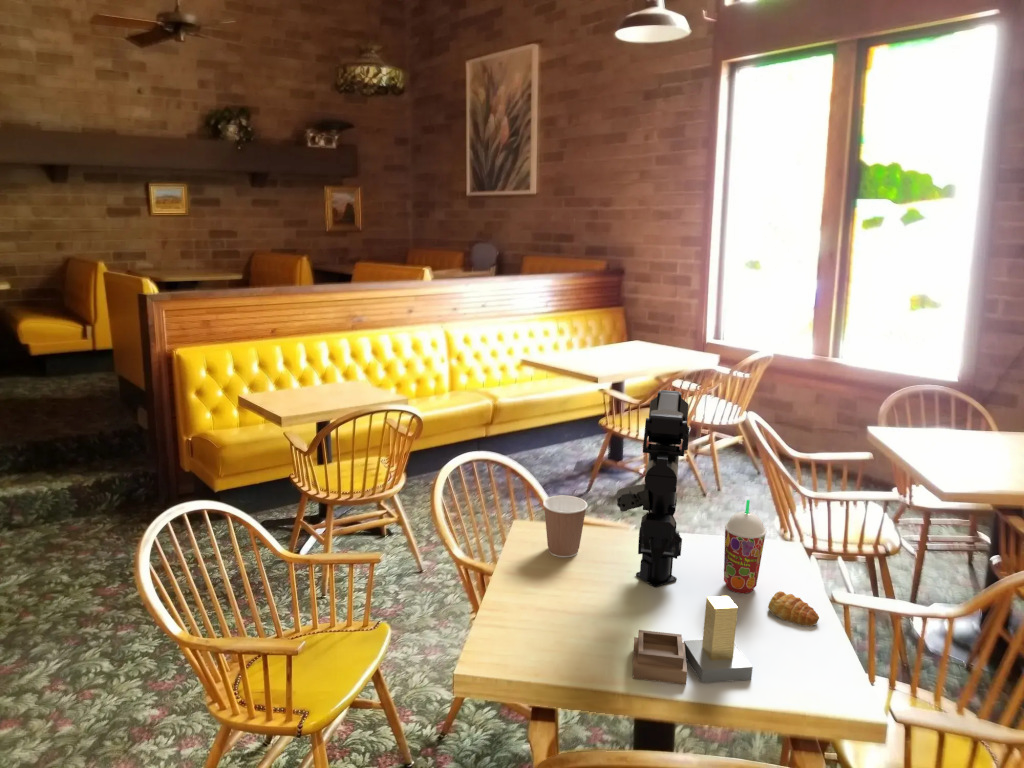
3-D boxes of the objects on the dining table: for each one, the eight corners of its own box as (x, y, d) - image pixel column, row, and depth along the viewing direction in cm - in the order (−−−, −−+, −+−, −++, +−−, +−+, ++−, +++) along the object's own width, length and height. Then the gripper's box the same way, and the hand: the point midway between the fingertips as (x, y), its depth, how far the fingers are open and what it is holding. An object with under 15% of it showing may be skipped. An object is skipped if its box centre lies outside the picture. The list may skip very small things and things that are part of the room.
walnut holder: (633, 649, 139) (634, 627, 138) (683, 655, 138) (685, 632, 137) (632, 678, 131) (634, 655, 130) (686, 684, 129) (688, 661, 128)
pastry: (824, 621, 151) (826, 603, 150) (807, 633, 147) (809, 615, 146) (781, 602, 158) (783, 585, 157) (763, 613, 153) (765, 596, 153)
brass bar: (702, 647, 136) (706, 597, 134) (723, 646, 137) (728, 595, 134) (710, 660, 132) (715, 608, 130) (732, 659, 133) (737, 607, 130)
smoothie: (717, 592, 161) (725, 504, 156) (722, 575, 168) (730, 490, 164) (758, 600, 158) (767, 510, 153) (761, 582, 165) (770, 496, 161)
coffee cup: (589, 545, 182) (591, 498, 179) (579, 564, 172) (582, 514, 169) (547, 539, 185) (549, 492, 182) (536, 556, 175) (537, 508, 172)
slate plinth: (682, 653, 139) (683, 640, 138) (729, 650, 140) (730, 637, 139) (701, 683, 130) (702, 670, 129) (751, 679, 131) (752, 666, 131)
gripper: (624, 457, 157) (620, 527, 161) (615, 489, 139) (611, 567, 143) (679, 462, 155) (673, 534, 158) (677, 495, 137) (671, 574, 140)
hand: (656, 551), depth 150 cm, fingers open, 9 cm apart
